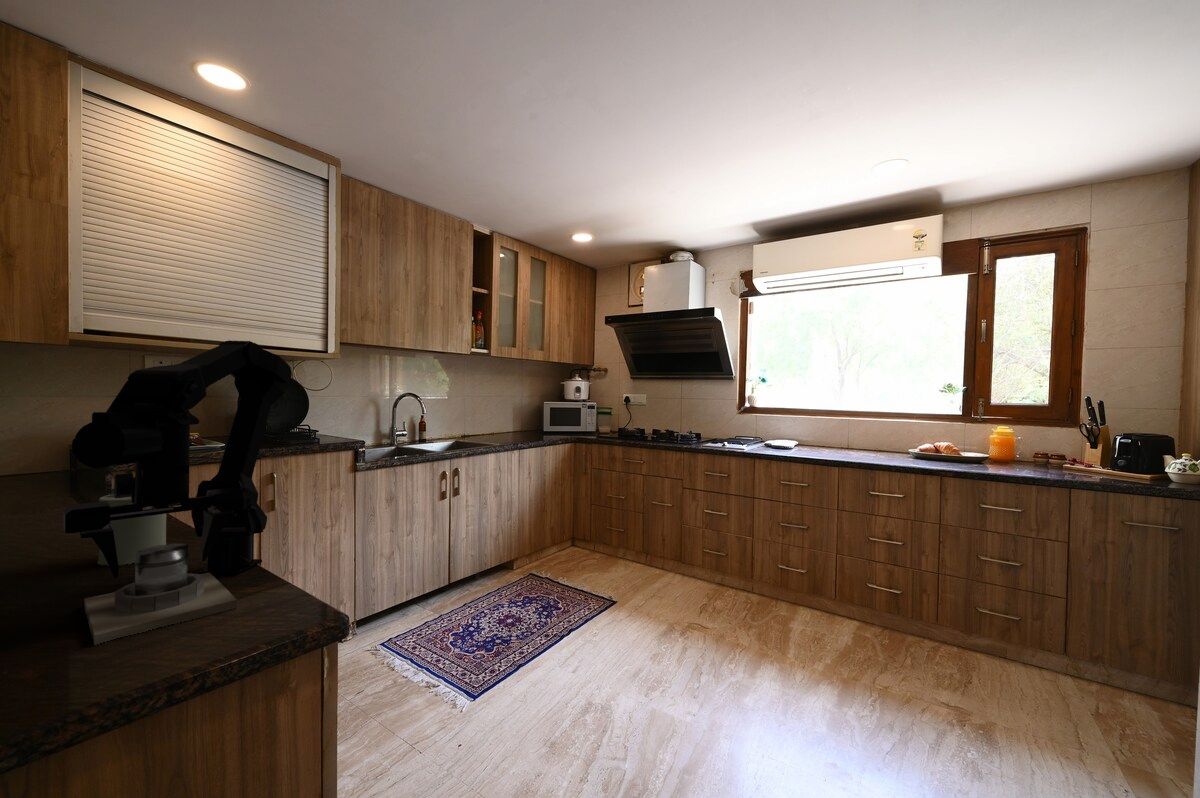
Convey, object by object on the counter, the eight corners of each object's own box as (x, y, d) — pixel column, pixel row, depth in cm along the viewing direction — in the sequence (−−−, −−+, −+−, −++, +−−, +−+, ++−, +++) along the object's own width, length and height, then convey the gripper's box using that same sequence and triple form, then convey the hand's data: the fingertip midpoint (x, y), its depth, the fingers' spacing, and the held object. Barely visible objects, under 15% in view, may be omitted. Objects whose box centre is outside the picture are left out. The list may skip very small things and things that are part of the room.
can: (118, 552, 92) (119, 489, 92) (177, 548, 95) (178, 487, 95) (83, 568, 83) (84, 498, 84) (149, 563, 86) (150, 496, 86)
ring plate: (84, 607, 68) (84, 584, 68) (209, 579, 79) (209, 560, 79) (94, 645, 58) (94, 618, 58) (236, 608, 69) (237, 585, 69)
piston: (159, 590, 71) (160, 543, 71) (197, 591, 71) (198, 543, 71) (122, 606, 66) (123, 555, 66) (163, 607, 66) (164, 555, 66)
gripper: (228, 449, 81) (227, 542, 81) (61, 458, 67) (60, 572, 67) (248, 455, 74) (247, 557, 74) (66, 466, 59) (64, 594, 59)
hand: (161, 568), depth 68 cm, fingers open, 9 cm apart
